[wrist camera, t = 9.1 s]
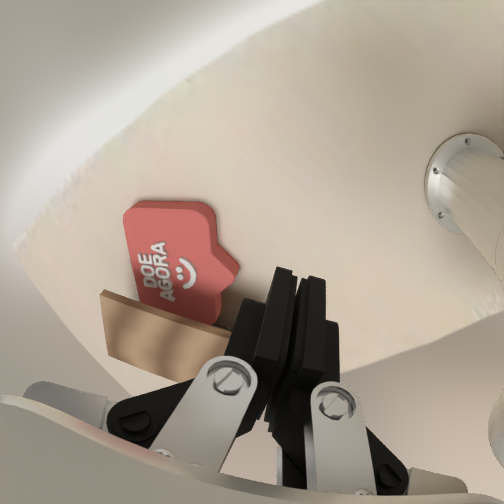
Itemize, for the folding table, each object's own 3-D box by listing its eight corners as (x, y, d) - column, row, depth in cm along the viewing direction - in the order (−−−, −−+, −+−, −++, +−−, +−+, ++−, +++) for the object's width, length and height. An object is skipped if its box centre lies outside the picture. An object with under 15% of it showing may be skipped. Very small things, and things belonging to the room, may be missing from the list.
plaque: (236, 333, 44) (142, 318, 47) (242, 316, 48) (152, 303, 50) (230, 213, 36) (117, 209, 38) (238, 202, 39) (132, 199, 42)
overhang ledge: (267, 294, 44) (254, 346, 35) (250, 350, 50) (236, 400, 42) (136, 255, 45) (99, 294, 37) (136, 314, 52) (108, 355, 43)
